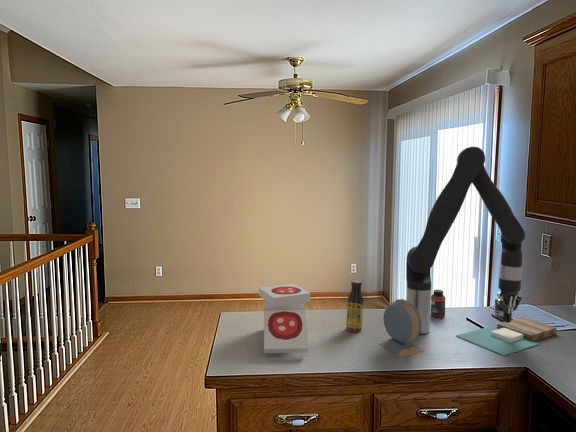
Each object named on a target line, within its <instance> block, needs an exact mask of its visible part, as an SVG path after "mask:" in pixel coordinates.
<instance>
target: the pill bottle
mask: <svg viewBox="0 0 576 432" xmlns="http://www.w3.org/2000/svg"><path fill="white" fill-rule="evenodd" d="M500 293H501V291H497V292H496V297H494V307H493V308H494V311H493V313H494V315H496V316H498V317H503V314H504V313H503V311H500V310H499V308H498V306H497V304H496V302H495V300H496V299H499V298H500Z"/></svg>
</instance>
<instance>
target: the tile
mask: <svg viewBox="0 0 576 432" xmlns="http://www.w3.org/2000/svg"><path fill="white" fill-rule="evenodd" d="M496 329H497V328H496ZM491 336H494V337H496V338H499V339H502V340H504V341H507V342H514V341H517V340H520V339H523V336H524V334H521V333H518V332H515V331H512V330H509V329H507V328H501V329H497V330H494V331H491Z"/></svg>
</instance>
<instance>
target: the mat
mask: <svg viewBox="0 0 576 432" xmlns="http://www.w3.org/2000/svg"><path fill="white" fill-rule="evenodd" d="M494 330H497V327H493V326H490V325H489V326H487V327H482V328H480V329H475V330H471V331H468V332H465V333H464V332H463V333H460V334H456V336H455V337H457V338H459V339H462V340H464V341H466V342H469V343H471V344H474V345H475V346H478V347H480V348H484V349H486V350H488V351H490V352H493V353H495V354H498V355H500V356H503V357H506V356H509V355H511V354H512V355H513V354H515V353H518V352H520V351H524V350H527V349H531V348H534V347H536V346H539V345H540V344H539V343H538V342H536V341H530V340H527V339H524V338H523V339H520V340H517V341H514V342H507V341H504V340H502V339H499V338H496V337H494V336H491V331H494Z"/></svg>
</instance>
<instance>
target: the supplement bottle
mask: <svg viewBox="0 0 576 432" xmlns="http://www.w3.org/2000/svg"><path fill="white" fill-rule="evenodd" d="M432 293H433V294H431V307H430V317H431V316H432V317H433V318H437V319H440V318H441V319H442V318H444V317H446V296H445V295H444V290H442V289H433V292H432Z"/></svg>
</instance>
